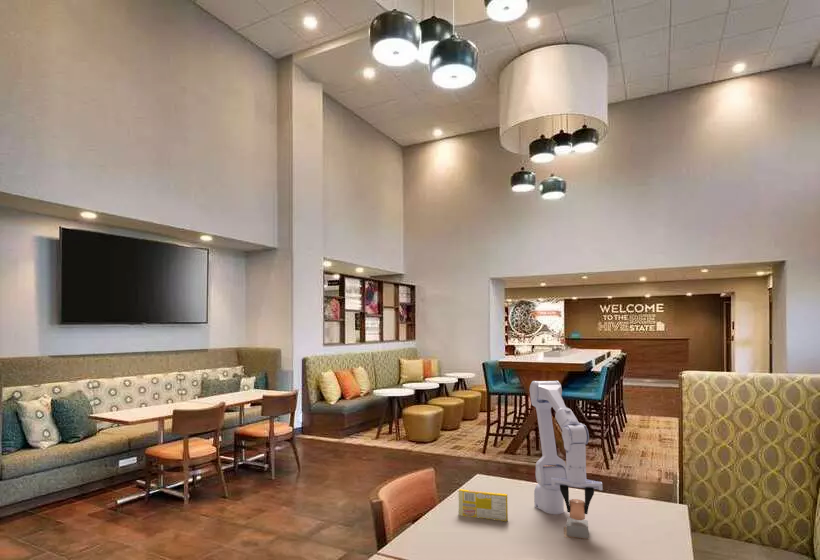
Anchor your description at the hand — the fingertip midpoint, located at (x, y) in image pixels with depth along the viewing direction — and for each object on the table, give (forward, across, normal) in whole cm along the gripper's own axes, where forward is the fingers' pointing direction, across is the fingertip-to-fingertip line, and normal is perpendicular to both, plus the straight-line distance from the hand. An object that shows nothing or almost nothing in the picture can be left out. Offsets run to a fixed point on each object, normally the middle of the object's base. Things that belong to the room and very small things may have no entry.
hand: (577, 512), depth 149 cm
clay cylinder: (+1, 0, 0) cm, 1 cm away
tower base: (+8, 0, 0) cm, 8 cm away
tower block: (+6, 0, 0) cm, 6 cm away
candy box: (+8, -29, +8) cm, 31 cm away
